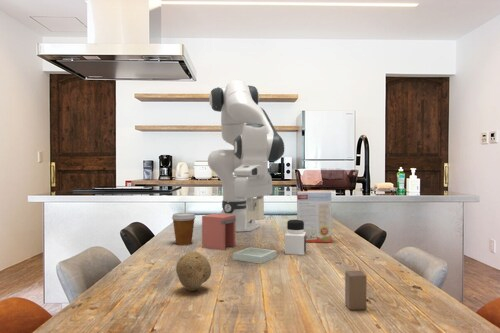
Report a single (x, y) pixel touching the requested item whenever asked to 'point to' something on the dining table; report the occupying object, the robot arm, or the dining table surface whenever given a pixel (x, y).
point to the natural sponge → (193, 270)
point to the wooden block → (355, 290)
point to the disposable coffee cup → (183, 227)
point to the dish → (254, 255)
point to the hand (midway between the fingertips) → (254, 210)
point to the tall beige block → (256, 210)
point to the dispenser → (218, 231)
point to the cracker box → (315, 214)
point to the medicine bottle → (295, 238)
